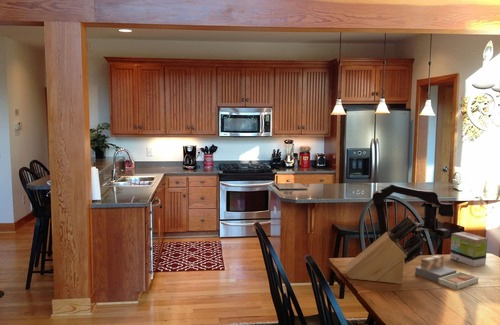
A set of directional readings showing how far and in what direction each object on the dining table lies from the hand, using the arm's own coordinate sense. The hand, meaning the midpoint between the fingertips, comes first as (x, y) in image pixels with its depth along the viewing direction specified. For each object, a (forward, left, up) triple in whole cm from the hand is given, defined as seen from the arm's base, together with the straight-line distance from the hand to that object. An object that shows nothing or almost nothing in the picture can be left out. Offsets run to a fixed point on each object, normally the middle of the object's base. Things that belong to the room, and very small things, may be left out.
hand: (428, 246), depth 210 cm
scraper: (-2, -4, -10) cm, 10 cm away
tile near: (-6, -19, -11) cm, 22 cm away
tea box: (+34, -2, -13) cm, 37 cm away
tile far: (+2, -19, -10) cm, 21 cm away
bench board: (-2, -6, -13) cm, 14 cm away
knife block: (-28, +4, -13) cm, 32 cm away
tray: (-2, -17, -13) cm, 22 cm away
